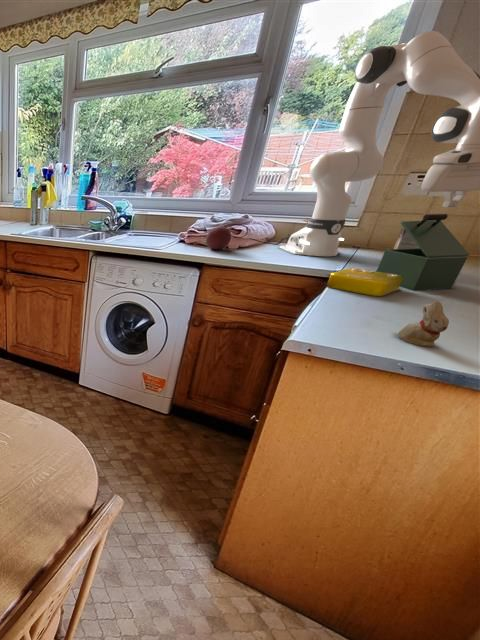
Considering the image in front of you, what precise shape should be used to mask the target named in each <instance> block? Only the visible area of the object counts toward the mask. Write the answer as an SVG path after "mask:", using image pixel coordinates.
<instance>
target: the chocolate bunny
mask: <svg viewBox="0 0 480 640" xmlns="http://www.w3.org/2000/svg"><path fill="white" fill-rule="evenodd" d="M422 313H423V315H422V316H423V317H422V318H421V320H420V321H416V322H412V323H407V324H406V325H405V326H404V327H403V328H402V329H400V331H399V332H398V333H397V334H398V335H397V337H398V338H399V339H401V340H402V341H404V342H407V343H410V344H413V345H415V346H421V347H427V348H429V347H430V348H432V347H433V346H434V345H435V341H438V339H439V338H440V335H441V333H442V332H445V331H446V330H447V329H448V327H449V323H450V319H449V318H448V317H447V315H445V313H444V305H442V303H441V301H439V300H436V301H434V302H432V303H429V304H428V303H427V304H424V306H423V308H422Z"/></svg>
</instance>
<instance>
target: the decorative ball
mask: <svg viewBox="0 0 480 640" xmlns="http://www.w3.org/2000/svg"><path fill="white" fill-rule="evenodd" d="M231 239H232V233H231V231H230V229H229V228H227V227H225V226H216V227H213V228H211V230H209V231H208V233H207V235H206V237H205V244H206V245H207V247H209V249H211V250H215V251H216V250H217V251H218V250H221V249H224V248H226V247H227V246H228V245H229V244H230V242H231Z"/></svg>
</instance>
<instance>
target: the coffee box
mask: <svg viewBox="0 0 480 640" xmlns="http://www.w3.org/2000/svg"><path fill="white" fill-rule="evenodd" d="M412 248H419V246H418V245H417V244H416V243H415V241H414V240H413V239H412V238H411V236H410V235H409V234H408V232H407V231H406V230H405V229H404V227H403V226H402V227H401V230H400V232H399V234H398V237H397V239H396V242H395V244H394V246H393V249H412Z"/></svg>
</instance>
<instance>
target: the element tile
mask: <svg viewBox="0 0 480 640" xmlns="http://www.w3.org/2000/svg"><path fill="white" fill-rule="evenodd" d="M402 280H403V276H402V275H396V274H390V273H383V272H377V270H376V271H375V270H371V269H365V268H362V267H347V268H344V269H341V270H337V271H335V272H331V273H330V275H329V278H328V281H327V283H326V287H328V288H331V289H335V290H341V291H346V292H351V293H355V294H362V295H366V296H371V297H372V296H373V297H383V296H385V295H388V294H390V293H391V294H392V293H393V292H396V291H398V290H399V289H400V287H401V286H400V284H401V282H402Z"/></svg>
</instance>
